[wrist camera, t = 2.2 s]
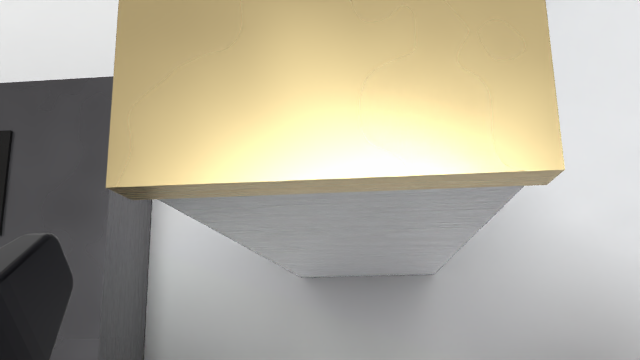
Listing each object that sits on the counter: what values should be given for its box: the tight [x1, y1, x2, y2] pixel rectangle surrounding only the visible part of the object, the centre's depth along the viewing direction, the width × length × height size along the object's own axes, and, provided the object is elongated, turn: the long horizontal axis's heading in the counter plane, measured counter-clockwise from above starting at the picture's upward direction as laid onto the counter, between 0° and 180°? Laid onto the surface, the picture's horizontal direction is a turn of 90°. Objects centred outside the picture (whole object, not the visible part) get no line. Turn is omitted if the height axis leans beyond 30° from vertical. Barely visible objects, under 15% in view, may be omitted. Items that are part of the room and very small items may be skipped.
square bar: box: [106, 0, 565, 277], centre depth 12 cm, size 4×4×13 cm
